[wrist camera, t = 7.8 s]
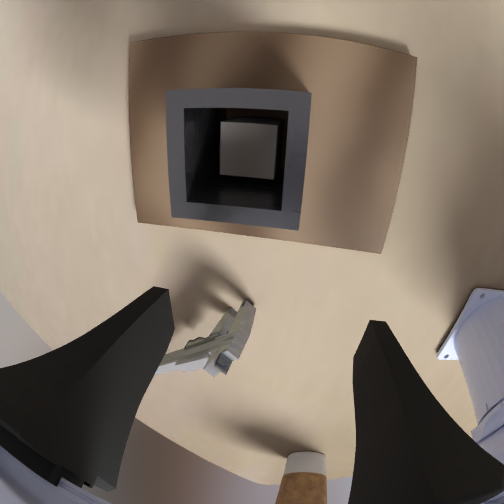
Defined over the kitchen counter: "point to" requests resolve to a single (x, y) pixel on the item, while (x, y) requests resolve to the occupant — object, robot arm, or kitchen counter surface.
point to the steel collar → (208, 158)
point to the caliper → (214, 345)
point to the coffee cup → (304, 479)
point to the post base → (283, 127)
